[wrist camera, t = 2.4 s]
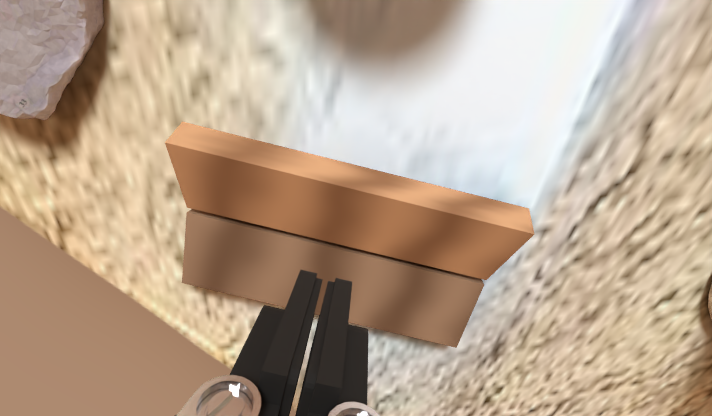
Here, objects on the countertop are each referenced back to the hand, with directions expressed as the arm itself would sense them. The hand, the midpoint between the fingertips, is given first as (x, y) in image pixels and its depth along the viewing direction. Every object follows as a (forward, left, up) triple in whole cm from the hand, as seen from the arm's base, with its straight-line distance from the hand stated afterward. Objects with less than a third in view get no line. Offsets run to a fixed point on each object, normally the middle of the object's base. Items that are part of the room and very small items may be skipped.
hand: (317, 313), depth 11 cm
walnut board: (0, +7, -15) cm, 17 cm away
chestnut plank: (0, 0, -13) cm, 13 cm away
